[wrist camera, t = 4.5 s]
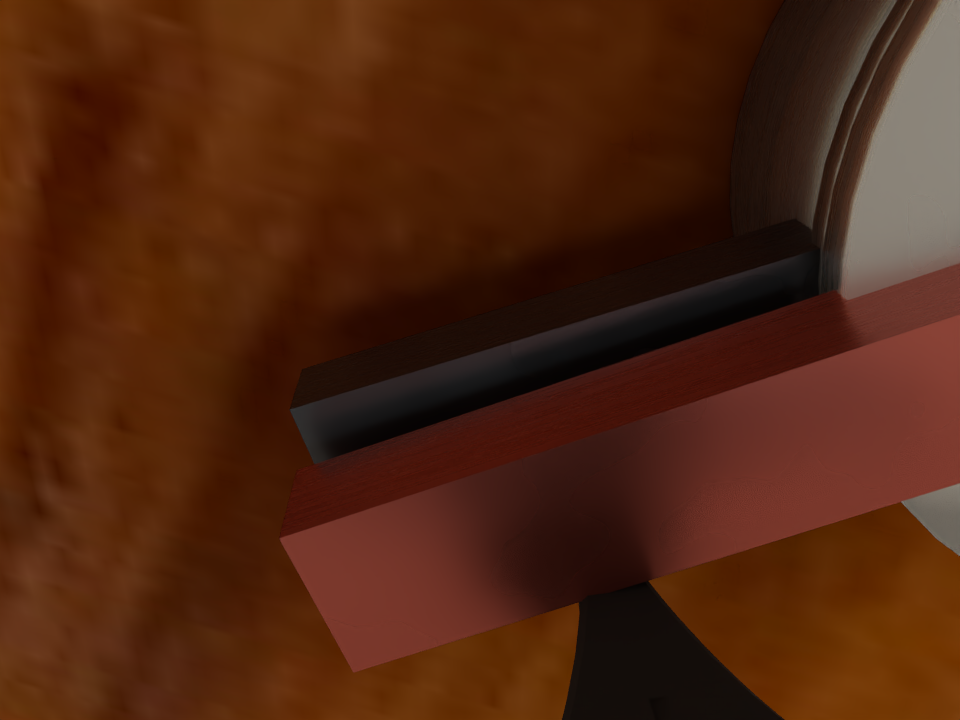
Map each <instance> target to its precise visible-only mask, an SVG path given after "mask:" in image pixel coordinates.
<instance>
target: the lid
mask: <svg viewBox="0 0 960 720" xmlns="http://www.w3.org/2000/svg"><path fill="white" fill-rule="evenodd" d="M898 502H902V503H903V504H904V505H905V507H906V508H907V509H908V510H909V511H910V512H911V513H912V514H913V515H914V516H915V517H916V518H917V519H918V520H919V521H920V522H921V523H922V524H923V525H924V526H925V527H926V528H927V529H928V531H929V532H930V533H931V534H932V535H933V536H934V537H935V538H936V539H937V540H939V541H940V542H942V543H943V544H944V545H946V546H947V547H948V548H950V549H951V550H952V551H954V552H955V553H956V554H958V555H959V556H960V0H914V1H913V3H912V4H911V6H910V8H909V10H908V12H907V13H906V15H905V17H904V19H903V21H902V22H901V24H900V26H899V28H898V29H897V31H896V33H895V35H894V37H893V38H892V40H891V42H890V44H889V46H888V47H887V49H886V51H885V53H884V54H883V56H882V58H881V60H880V62H879V64H878V66H877V69H876V71H875V73H874V76H873V78H872V80H871V83H870V85H869V87H868V90H867V92H866V94H865V97H864V99H863V101H862V104H861V106H860V108H859V111H858V113H857V115H856V118H855V120H854V122H853V125H852V127H851V130H850V134H849V137H848V141H847V144H846V147H845V151H844V154H843V157H842V161H841V164H840V167H839V171H838V174H837V177H836V181H835V184H834V187H833V191H832V197H831V203H830V209H829V215H828V220H827V226H826V232H825V238H824V244H823V250H822V276H821V295H818V296H815V297H812V298H809V299H806V300H803V301H800V302H797V303H794V304H791V305H788V306H785V307H782V308H779V309H776V310H773V311H770V312H767V313H764V314H761V315H758V316H755V317H752V318H749V319H746V320H743V321H740V322H737V323H734V324H731V325H728V326H725V327H722V328H719V329H716V330H714V331H711V332H708V333H705V334H702V335H699V336H696V337H693V338H690V339H687V340H684V341H681V342H678V343H675V344H672V345H669V346H666V347H663V348H660V349H657V350H654V351H651V352H648V353H645V354H642V355H639V356H636V357H633V358H630V359H627V360H624V361H621V362H618V363H615V364H612V365H609V366H606V367H603V368H600V369H597V370H594V371H591V372H588V373H585V374H582V375H579V376H576V377H573V378H570V379H567V380H564V381H561V382H558V383H556V384H553V385H550V386H547V387H544V388H541V389H538V390H535V391H532V392H529V393H526V394H523V395H520V396H517V397H514V398H511V399H508V400H505V401H502V402H499V403H496V404H493V405H490V406H487V407H484V408H481V409H478V410H475V411H472V412H469V413H466V414H463V415H460V416H457V417H454V418H451V419H448V420H445V421H442V422H439V423H436V424H433V425H430V426H427V427H424V428H421V429H418V430H415V431H412V432H409V433H406V434H403V435H401V436H398V437H395V438H392V439H389V440H386V441H383V442H380V443H377V444H374V445H371V446H368V447H365V448H362V449H359V450H356V451H353V452H350V453H347V454H344V455H341V456H338V457H335V458H332V459H329V460H326V461H323V462H320V463H317V464H314V465H311V466H308V467H305V468H302V469H299V470H297V471H296V475H295V479H294V483H293V487H292V491H291V494H290V498H289V502H288V506H287V510H286V514H285V518H284V522H283V525H282V529H281V533H280V537H279V539H280V541H281V543H282V545H283V546H284V548H285V550H286V552H287V554H288V555H289V557H290V559H291V561H292V563H293V564H294V566H295V568H296V570H297V572H298V573H299V575H300V577H301V579H302V581H303V582H304V584H305V586H306V588H307V590H308V591H309V593H310V595H311V597H312V599H313V600H314V602H315V604H316V606H317V608H318V609H319V611H320V613H321V615H322V617H323V618H324V620H325V622H326V624H327V626H328V627H329V629H330V631H331V633H332V635H333V636H334V638H335V640H336V642H337V644H338V645H339V647H340V649H341V651H342V653H343V654H344V656H345V658H346V660H347V662H348V663H349V665H350V667H351V669H352V671H353V672H357V671H360V670H363V669H366V668H369V667H373V666H376V665H379V664H382V663H385V662H389V661H392V660H395V659H398V658H401V657H405V656H408V655H411V654H414V653H418V652H421V651H424V650H427V649H430V648H434V647H437V646H440V645H443V644H446V643H450V642H453V641H456V640H459V639H462V638H466V637H469V636H472V635H475V634H478V633H482V632H485V631H488V630H491V629H494V628H498V627H501V626H504V625H507V624H510V623H514V622H517V621H520V620H523V619H527V618H530V617H533V616H536V615H539V614H543V613H546V612H549V611H552V610H555V609H559V608H562V607H565V606H568V605H571V604H575V603H578V602H581V601H582V600H583V599H585V598H586V597H587V596H588V595H595V594H603V593H610V592H613V591H616V590H619V589H623V588H626V587H629V586H632V585H636V584H639V583H642V582H645V581H648V580H652V579H655V578H658V577H661V576H664V575H668V574H671V573H674V572H677V571H680V570H684V569H687V568H690V567H693V566H696V565H700V564H703V563H706V562H709V561H712V560H716V559H719V558H722V557H725V556H728V555H732V554H735V553H738V552H741V551H745V550H748V549H751V548H754V547H757V546H761V545H764V544H767V543H770V542H773V541H777V540H780V539H783V538H786V537H789V536H793V535H796V534H799V533H802V532H805V531H809V530H812V529H815V528H818V527H821V526H825V525H828V524H831V523H834V522H838V521H841V520H844V519H847V518H850V517H854V516H857V515H860V514H863V513H866V512H870V511H873V510H876V509H879V508H882V507H886V506H889V505H892V504H895V503H898Z"/></svg>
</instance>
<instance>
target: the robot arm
mask: <svg viewBox="0 0 960 720" xmlns="http://www.w3.org/2000/svg"><path fill="white" fill-rule="evenodd" d="M579 609H580V616H579V626H578V636H577V645H576V653H575V660H574V665H573V670H572V676H571V681H570V686H569V691H568V697H567V701H566V706H565V710H564V714H563V718H562V720H784V719H783V718H782V717H781V716H779V715H778V714H777V713H776V712H775V711H773V710H772V709H771V708H770V707H769V706H767V705H766V704H765V703H764V702H763V701H762V700H760V699H759V698H758V697H757V696H756V695H755V694H754V693H753V692H751V691H750V690H749V689H748V688H747V687H746V686H745V685H744V684H743V683H742V682H740V681H739V680H738V679H737V678H736V677H735V676H734V675H733V674H732V673H731V672H730V671H729V670H728V669H727V668H726V667H725V666H724V665H723V664H722V663H721V662H720V661H719V660H718V659H717V658H716V657H715V656H714V655H713V654H712V653H711V652H710V651H709V650H708V649H707V648H706V647H705V646H704V645H703V644H702V643H701V642H700V641H699V640H698V638H697V637H696V636H695V635H694V634H693V633H692V632H691V631H690V630H689V629H688V628H687V626H686V625H685V624H684V623H683V622H682V621H681V620H680V619H679V618H678V617H677V615H676V614H675V613H674V612H673V611H672V610H671V609H670V607H669V606H668V605H667V604H666V603H665V601H664V600H663V599H662V598H661V596H660V595H659V594H658V593H657V592H656V590H655V589H654V588H653V587H652V585H651V584H650V583H649V582H648V581H645V582H642V583H639V584H636V585H632V586H629V587H626V588H623V589H619V590H616V591H613V592H610V593H603V594H595V595H588V596H587V597H586V598H585V599H583V600H582V601H581V602H579Z"/></svg>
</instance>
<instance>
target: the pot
mask: <svg viewBox="0 0 960 720" xmlns="http://www.w3.org/2000/svg"><path fill="white" fill-rule="evenodd" d="M913 1H914V0H785V1H784V3H783V5H782V7H781V8H780V10H779V12H778V14H777V16H776V18H775V19H774V21H773V23H772V25H771V27H770V29H769V30H768V33H767V35H766V38H765V40H764V43H763V45H762V48H761V50H760V52H759V55H758V57H757V60H756V62H755V65H754V67H753V70H752V72H751V74H750V78H749V81H748V85H747V88H746V92H745V95H744V99H743V103H742V106H741V110H740V113H739V117H738V121H737V127H736V134H735V140H734V147H733V153H732V160H731V181H730V210H731V219H732V228H733V237H732V238H729V239H725V240H722V241H719V242H716V243H712V244H709V245H706V246H703V247H699V248H696V249H693V250H690V251H686V252H683V253H680V254H677V255H673V256H670V257H667V258H663V259H660V260H657V261H654V262H650V263H647V264H644V265H641V266H637V267H634V268H631V269H628V270H624V271H621V272H618V273H615V274H611V275H608V276H605V277H601V278H598V279H595V280H592V281H588V282H585V283H582V284H579V285H575V286H572V287H569V288H566V289H562V290H559V291H556V292H553V293H549V294H546V295H543V296H539V297H536V298H533V299H530V300H526V301H523V302H520V303H517V304H513V305H510V306H507V307H504V308H500V309H497V310H494V311H491V312H487V313H484V314H481V315H477V316H474V317H471V318H468V319H464V320H461V321H458V322H455V323H451V324H448V325H445V326H442V327H438V328H435V329H432V330H429V331H425V332H422V333H419V334H415V335H412V336H409V337H406V338H402V339H399V340H396V341H393V342H389V343H386V344H383V345H380V346H376V347H373V348H370V349H367V350H363V351H360V352H357V353H353V354H350V355H347V356H344V357H340V358H337V359H334V360H331V361H327V362H324V363H321V364H318V365H314V366H311V367H308V368H305V369H302V372H301V375H300V378H299V381H298V384H297V388H296V391H295V394H294V397H293V400H292V404H291V407H290V411H291V414H292V416H293V418H294V420H295V422H296V424H297V427H298V429H299V431H300V433H301V435H302V438H303V440H304V442H305V444H306V446H307V448H308V451H309V453H310V455H311V457H312V459H313V462H314V464H317V463H320V462H323V461H326V460H329V459H332V458H335V457H338V456H341V455H344V454H347V453H350V452H353V451H356V450H359V449H362V448H365V447H368V446H371V445H374V444H377V443H380V442H383V441H386V440H389V439H392V438H395V437H398V436H401V435H403V434H406V433H409V432H412V431H415V430H418V429H421V428H424V427H427V426H430V425H433V424H436V423H439V422H442V421H445V420H448V419H451V418H454V417H457V416H460V415H463V414H466V413H469V412H472V411H475V410H478V409H481V408H484V407H487V406H490V405H493V404H496V403H499V402H502V401H505V400H508V399H511V398H514V397H517V396H520V395H523V394H526V393H529V392H532V391H535V390H538V389H541V388H544V387H547V386H550V385H553V384H556V383H558V382H561V381H564V380H567V379H570V378H573V377H576V376H579V375H582V374H585V373H588V372H591V371H594V370H597V369H600V368H603V367H606V366H609V365H612V364H615V363H618V362H621V361H624V360H627V359H630V358H633V357H636V356H639V355H642V354H645V353H648V352H651V351H654V350H657V349H660V348H663V347H666V346H669V345H672V344H675V343H678V342H681V341H684V340H687V339H690V338H693V337H696V336H699V335H702V334H705V333H708V332H711V331H714V330H716V329H719V328H722V327H725V326H728V325H731V324H734V323H737V322H740V321H743V320H746V319H749V318H752V317H755V316H758V315H761V314H764V313H767V312H770V311H773V310H776V309H779V308H782V307H785V306H788V305H791V304H794V303H797V302H800V301H803V300H806V299H809V298H812V297H815V296H818V295H821V276H822V250H823V244H824V238H825V232H826V226H827V220H828V215H829V209H830V203H831V197H832V191H833V187H834V184H835V181H836V177H837V174H838V171H839V167H840V164H841V161H842V157H843V154H844V151H845V147H846V144H847V141H848V137H849V134H850V130H851V127H852V125H853V122H854V120H855V118H856V115H857V113H858V111H859V108H860V106H861V104H862V101H863V99H864V97H865V94H866V92H867V90H868V87H869V85H870V83H871V80H872V78H873V76H874V73H875V71H876V69H877V66H878V64H879V62H880V60H881V58H882V56H883V54H884V53H885V51H886V49H887V47H888V46H889V44H890V42H891V40H892V38H893V37H894V35H895V33H896V31H897V29H898V28H899V26H900V24H901V22H902V21H903V19H904V17H905V15H906V13H907V12H908V10H909V8H910V6H911V4H912V3H913Z"/></svg>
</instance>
